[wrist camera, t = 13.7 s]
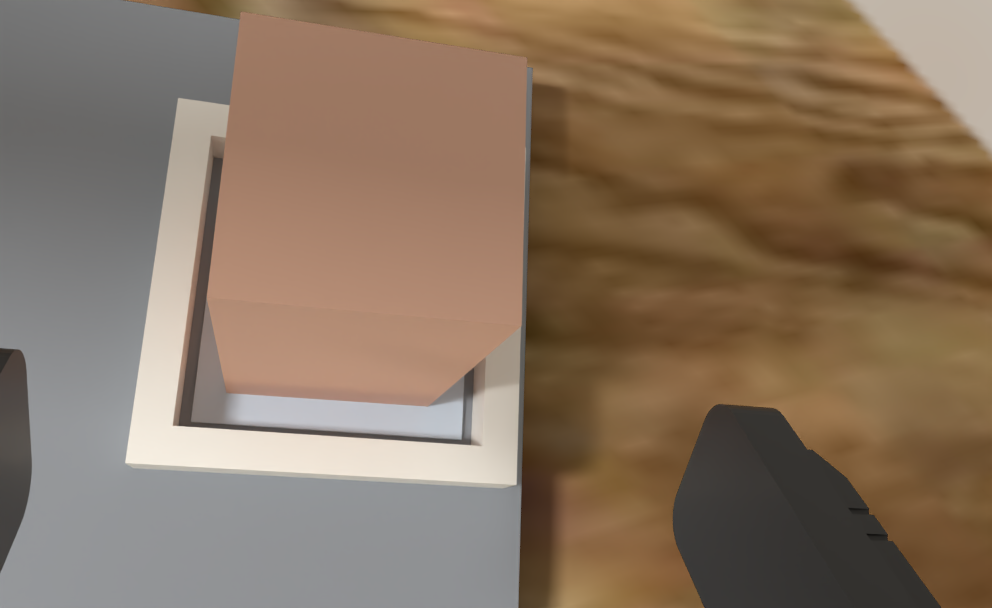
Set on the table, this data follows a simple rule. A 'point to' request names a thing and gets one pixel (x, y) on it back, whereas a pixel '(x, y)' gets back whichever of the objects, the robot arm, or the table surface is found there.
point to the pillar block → (366, 213)
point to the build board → (205, 363)
